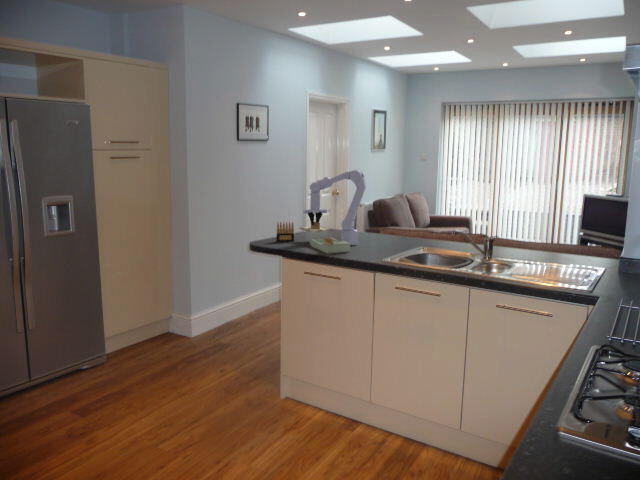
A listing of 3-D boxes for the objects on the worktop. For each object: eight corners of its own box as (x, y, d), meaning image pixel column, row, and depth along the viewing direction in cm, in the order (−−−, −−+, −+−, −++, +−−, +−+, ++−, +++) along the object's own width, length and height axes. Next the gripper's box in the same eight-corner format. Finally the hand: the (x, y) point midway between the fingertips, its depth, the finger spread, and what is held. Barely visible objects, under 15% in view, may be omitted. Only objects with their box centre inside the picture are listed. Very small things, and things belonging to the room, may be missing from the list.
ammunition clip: (276, 242, 313) (276, 222, 310) (276, 241, 314) (276, 221, 312) (294, 241, 315) (294, 221, 313) (293, 241, 317) (293, 221, 314)
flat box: (331, 244, 308) (331, 236, 307) (349, 252, 287) (350, 243, 286) (309, 245, 303) (309, 237, 302) (326, 253, 281) (326, 244, 280)
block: (328, 242, 285) (328, 237, 285) (333, 244, 280) (333, 239, 279) (323, 243, 284) (323, 237, 284) (328, 245, 279) (328, 239, 278)
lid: (320, 227, 322) (320, 220, 321) (331, 230, 307) (331, 223, 306) (299, 228, 316) (299, 221, 316) (309, 232, 301) (309, 224, 301)
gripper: (323, 201, 316) (323, 223, 319) (301, 201, 310) (301, 224, 313) (328, 202, 310) (327, 225, 312) (305, 203, 304) (305, 226, 306)
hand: (314, 225), depth 312 cm, fingers closed on lid, 2 cm apart
